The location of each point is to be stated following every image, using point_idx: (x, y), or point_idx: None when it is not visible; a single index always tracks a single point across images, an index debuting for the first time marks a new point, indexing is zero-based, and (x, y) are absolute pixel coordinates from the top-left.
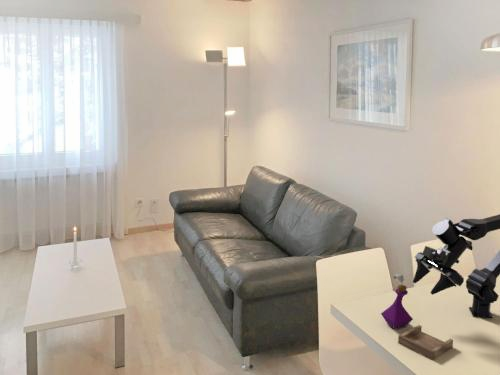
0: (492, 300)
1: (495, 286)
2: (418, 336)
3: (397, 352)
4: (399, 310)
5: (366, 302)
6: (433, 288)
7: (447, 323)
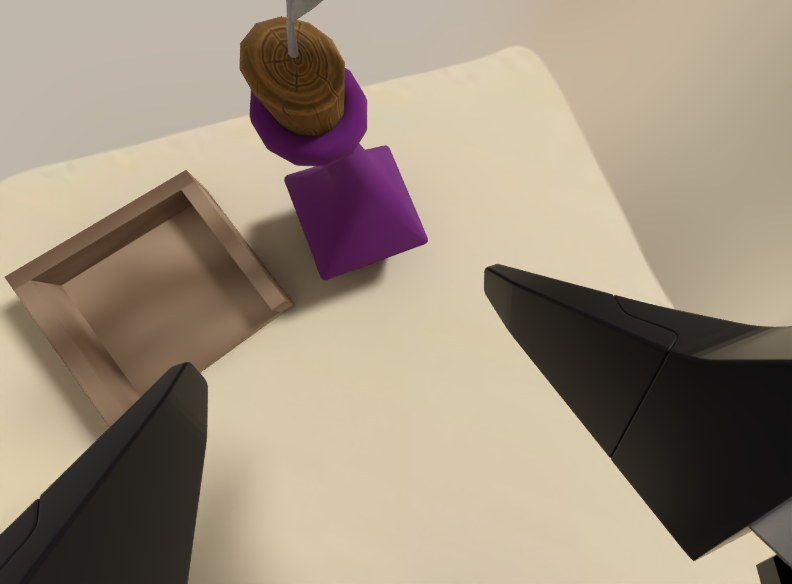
0: None
1: None
2: (235, 284)
3: (131, 163)
4: (319, 187)
5: (559, 166)
6: (146, 407)
7: (369, 475)
